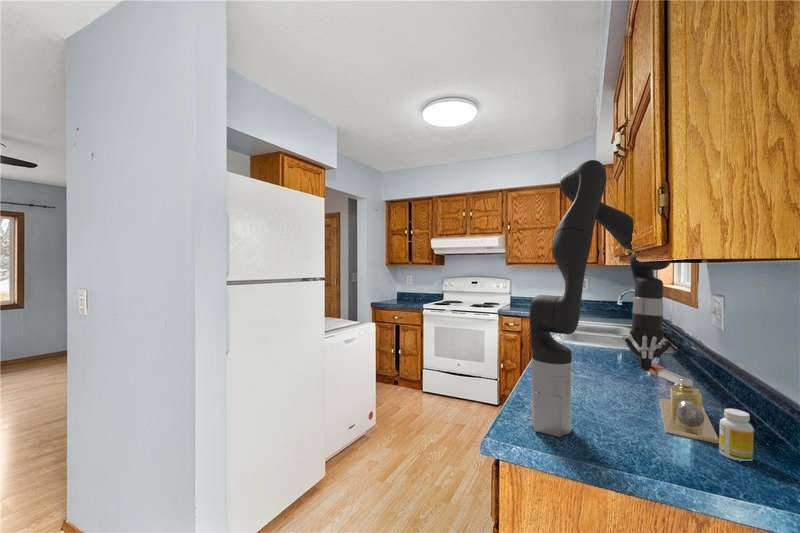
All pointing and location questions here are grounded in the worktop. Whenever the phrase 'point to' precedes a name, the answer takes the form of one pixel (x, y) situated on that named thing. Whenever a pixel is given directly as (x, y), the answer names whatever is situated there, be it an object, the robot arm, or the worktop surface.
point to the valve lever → (670, 376)
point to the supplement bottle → (736, 435)
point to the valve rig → (687, 415)
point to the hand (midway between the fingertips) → (644, 370)
